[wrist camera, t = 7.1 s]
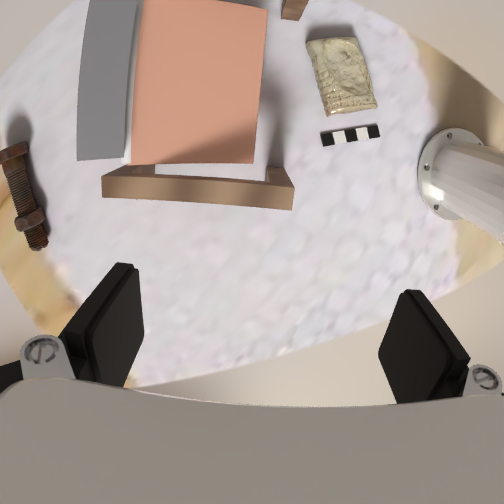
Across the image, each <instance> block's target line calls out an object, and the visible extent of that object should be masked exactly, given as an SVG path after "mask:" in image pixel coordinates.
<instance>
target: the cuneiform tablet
mask: <svg viewBox="0 0 504 504" xmlns="http://www.w3.org/2000/svg"><path fill="white" fill-rule="evenodd" d="M306 49H307V51H308V55H309V56H310V59H311V61H312V64H313V68H314V71H315V75H316V81H317V83H318V89H319V91H320V95H321V99H322V102H323V105H324V110H325V113H326V116H327V117H328V116H331V115H335V114H345V113H352V112H357V111H362V110H368V109H376V108H377V102H376V99H375V98H374V95H373V87H372V83H371V79H370V76H369V73H368V70H367V65H366V62H365V60H364V58H363V55H362V53H361V50H360V48H359V44H358V39H357V37H336V38H323V39H316V40H310V41H308V42H307V43H306ZM320 136H321V140H322V144H323V147H324V146H329V145H335V144H340V143H346V142H352V141H358V140H364V139H371V138H377V137H380V134H379V130H378V126H370V127H363V128H356V129H350V130H344V131H338V132H332V133H326V134H321V135H320Z"/></svg>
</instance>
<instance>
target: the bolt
mask: <svg viewBox="0 0 504 504" xmlns="http://www.w3.org/2000/svg"><path fill="white" fill-rule="evenodd" d="M27 152H29V150H28V145H27V143H26V142H21V143H18V144H15V145H12V146H10V147H8V148H6V149H4V150H1V151H0V164H2V167H3V171H4V174H5V176H6V178H7V181H8V183H9V184H8V185H10V186H9V188H10V189H9V190H11V191H10V192H12V193H11V194H12V197H13V198H12V199H13V201H14V203H15V206H16V207H15V208H16V210H17V212H18V213H17V214H18V217H16V218H15V226H16V229H17V230H18V231H20V232H22V231H24V232H25V233H24V234H26V235H25V236H26V239H27V241H28V243H29V244H28V245H30V246H29V247H30V248H31V249H32V250H33V251H40V250H41V249H42V248H45V247H46V246H47V245H48V242H49V241H48V238H47V236H46V233H45V230H44V228H43V227H44V226H42V225H43V224H42V222H43V221H44V220H45V215H44V212H43V209H42V207H37V206H35V205H36V204H35V202H34V200H35V199H33V198H34V197H33V195H32V193H31V192H32V190H31V188H30V187H31V186H29V185H30V184H29V181H28V180H29V179H27V178H28V177H27V174H26V173H27V172H26V170H25V169H26V168H25V162H24V157H23V154H25V153H27ZM36 207H37V208H36Z"/></svg>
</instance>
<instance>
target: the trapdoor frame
mask: <svg viewBox="0 0 504 504" xmlns="http://www.w3.org/2000/svg"><path fill="white" fill-rule="evenodd" d="M308 1H309V0H283V4H282V14H281V19H287V20H294V21H299V19H300V17H301V15H302V13H303V11H304V9H305V7H306V5H307V3H308ZM101 181H102V197H104V198H128V199H148V200H166V201H182V202H197V203H211V204H224V205H237V206H249V207H260V208H271V209H282V210H292V204H293V197H294V189H295V188H294V186H293V184H292V182H291V180H290V178H289V177H288V175H287V173H286V171H285V169H284V168H279V167H269V166H267V168H266V177H265V181H255V180H243V179H231V178H217V177H202V176H184V175H163V174H155V164H148V165H128V166H127V165H125V166H122V167H120V168H118V169H116V170H114V171H111V172H109V173H107V174H105V175H103V176H101Z"/></svg>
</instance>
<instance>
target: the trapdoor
mask: <svg viewBox="0 0 504 504" xmlns="http://www.w3.org/2000/svg"><path fill="white" fill-rule="evenodd" d="M267 16H268V10H267V9H262V8H258V7H253V6H248V5H242V4H237V3H231V2H224V1H218V0H90V3H89V8H88V13H87V19H86V25H85V32H84V39H83V46H82V55H81V64H80V75H79V88H78V105H77V161H82V160H95V159H109V158H120V163H123V164H127V166H128V165H148V164H181V163H244V164H253V162H254V151H255V140H256V130H257V119H258V108H259V98H260V87H261V77H262V67H263V57H264V46H265V36H266V26H267Z"/></svg>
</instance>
